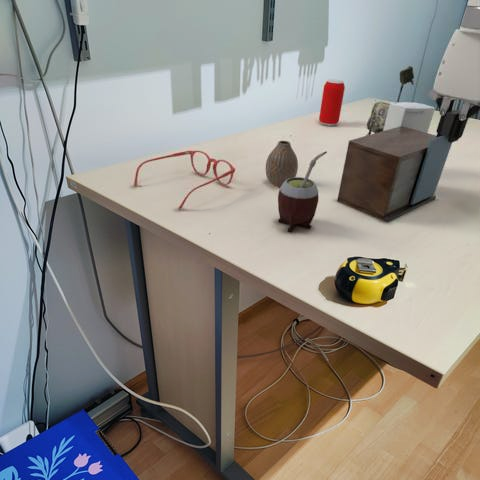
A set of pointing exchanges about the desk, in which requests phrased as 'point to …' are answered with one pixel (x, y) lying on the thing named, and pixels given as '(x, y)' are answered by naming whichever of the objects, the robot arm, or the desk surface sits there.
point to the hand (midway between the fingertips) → (447, 138)
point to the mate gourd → (298, 200)
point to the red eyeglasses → (195, 170)
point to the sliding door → (434, 160)
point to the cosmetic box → (409, 116)
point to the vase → (281, 164)
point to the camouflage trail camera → (387, 104)
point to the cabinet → (384, 172)
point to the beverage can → (331, 102)
